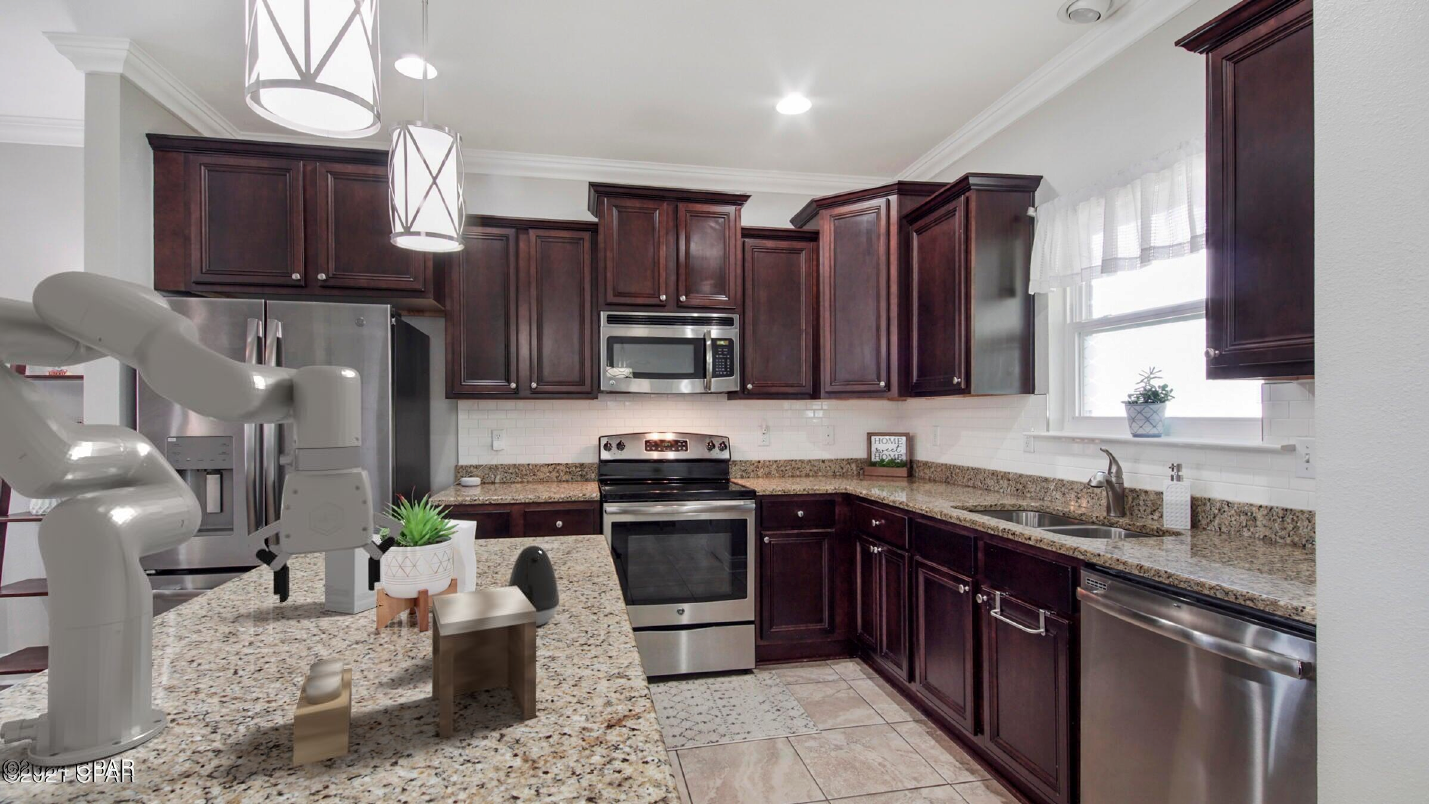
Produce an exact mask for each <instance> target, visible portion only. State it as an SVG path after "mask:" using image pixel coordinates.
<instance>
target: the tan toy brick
mask: <svg viewBox="0 0 1429 804" xmlns="http://www.w3.org/2000/svg"><path fill="white" fill-rule="evenodd" d="M344 662H345V659H343V658H338V657H334V658H333V657H331V658H326V659H321V660H317V661H316V662H315V661H314V662H313V663H311V664H310V666H309V674H308V675H305V677H304V678H303V683H302V686H301V690H300V694H299V696H298V700H297V704H296V707H295V711H294V714H293V756H292V758H293V763H292V766H293V767H296V766H301V765H305V764H311V763H315V762H319V761H322V760H328V759H331V758H332V759H333V758H336V757H338V758H339V757H341V756H346V755H348V753H349V752H348V751H349V742H350V740H349V739H350V732H351V723H352V722H351V718H352V708H353V707H352V699H353V680H352V679H353V668H352V667H349V668H344Z"/></svg>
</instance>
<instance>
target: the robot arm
mask: <svg viewBox="0 0 1429 804" xmlns="http://www.w3.org/2000/svg"><path fill="white" fill-rule="evenodd" d="M31 298H32V299H31V300H32V302H31V301H24V300H19V299H12V298H8V297H2V296H0V477H1V479H3V480H4V482H5V483H6V484H7V485H8V486H9V488H11V489H12V490H13V491H15V492H16V493H17V494H18V495H20V496H22V497H24V498H28V499H32V500H54V499H56V500H57V499H64V498H66V499H64V500H62V501H61V502H58V503H57V504H56V505H54V506H53V507H52V508H51V509H50V510H49V511H47V512H46V514H45V515H44V517H43V518H42V520H41V522H40V524H39V527H38V531H37V542H38V544H37V545H38V548H39V553H40V556H41V561H42V562H43V567H44V570H45V571H44V572H45V576H46V581H47V582H46V583H47V593H48V595H47V596H48V597H47V598H48V659H47V661H48V663H47V669H48V671H47V673H48V674H47V679H48V680H47V712H45V713H44V712H43V713H41V714H39V715H38V717H33V718H27V719H26V718H23V719H22V718H20V719H15V720H9V721H4V722H3V723H2V725H1V726H0V739H1V740H3V743H4V744H6V745H7V744H12V743H18V742H21V741H26V740H31V741H33V743H31V745H30V746H29V747H28V750H27V760H28V762H29V763H31V764H32V765H35V766H40V767H62V766H63V767H64V766H70V765H76V764H81V763H87V762H91V761H95V760H99V759H102V758H105V757H111V756H113V755H116V754H119V753H121V752H125V751H126V750H131V749H132V748H135V747H136V746H139V745H141V744H143V743H146V742H148V741H149V740H151V739H153V738H154V737H156V735H158V734H159V733H160V732H162V731H163V729H164V728H165V727H166V726H167V723H168V721H167V720H168V719H167V717H168V716H167V713H166V712H165V711H163V710H160V709H155V708H152V707H153V706H152V702H153V701H152V696H153V695H152V694H153V693H152V692H153V637H154V636H153V633H154V632H153V627H154V626H153V623H154V621H153V619H154V607H153V606H154V605H153V603H154V600H153V599H154V596H153V589H152V585H151V582H150V579H149V577H148V575H147V574H146V572H145V570H144V569H143V567H142V565H141V562H140V560H139V559H140V558H141V557H142V558H143V557H146V556H149V555H152V554H154V555H155V554H158V553H160V552H161V553H162V552H166V551H168V550H171V549H174V548H177V547H180V546H181V545H183V544H186V543H187V542H189V540H191V539H192V538H193V537H194V536H195V535H196V534H197V532H199V529H200V526H201V525H202V519H203V517H202V513H203V512H202V509H201V505H200V502H199V500H198V498H197V496H196V494H195V493H194V492H193V490H192V489H191V487H190V486H189V485H188V484H187V483H186V482H185V480H184V479H183V478H182V477H181V475H180V474H179V473H178V471H176V470H175V469H174V467H173V465H171V464H170V462H169V461H168V460H167V459H166V458H165V456H164V455H163V454H162V453H161V452H160V451H159V448H157V447H156V446H155V445H154V444H153V442H152V441H150V439H148V438H147V437H145V435H143V434H142V433H140V432H138V431H136V430H135V429H132V428H129V427H127V426H123V425H118V424H107V423H106V424H105V423H103V424H102V423H100V424H98V423H97V424H95V423H94V424H91V423H89V424H84V423H80V422H76V421H74V420H72V419H71V418H69V417H68V415H66V413H64V412H63V411H62V410H61V409H60V407H58V406H57V404H56V403H55V401H54V400H53V399H52V397H51V396H50V395H49V394H48V393H47V392H46V391H45V390H43V388H41V387H40V386H39V385H38V384H36V383H34V382H33V381H31V380H30V379H28V378H27V377H26V376H23V375H21V374H20V373H18V372H16V371H15V370H14V369H12V368H11V367H9V366H8V365H17V366H31V367H43V368H45V367H46V368H65V367H70V366H71V367H72V366H77V365H82V364H85V363H89V362H92V361H96V360H97V361H98V360H100V359H103V358H108V357H111V358H113V359H115V360H117V361H118V362H121V363H123V364H125V365H127V366H129V367H131V368H133V369H135V370H136V371H138V372H139V374H140V376H141V378H142V379H143V381H144V382H145V383H146V384H147V385H148V386H149V388H150V389H152V391H154V392H155V393H156V394H158V396H160V397H162V398H164V399H167V400H168V401H170V402H171V403H174V404H176V405H178V406H180V407H183V408H185V409H187V410H189V411H191V412H193V413H195V414H197V415H199V416H202V417H204V418H206V419H209V420H212V421H215V422H218V423H223V424H230V425H248V424H249V425H250V424H251V425H253V424H254V425H255V424H256V425H257V424H262V425H263V424H265V425H269V424H271V425H272V424H289V423H293V426H292V427H293V428H292V429H293V430H292V431H293V433H292V434H293V437H292V438H293V440H292V441H293V444H292V445H293V448H292V451H290V452H287V453H283V454H279V465H280V466H285V465H286V466H290V468H292V470H293V473H288V474H286V476H285V479H284V483H283V489H282V494H281V504H280V505H281V507H280V519H278V520H276V521H274V522H272V523H270V524H268V525H266V526H264V527H262V528H260V529H259V530H257V531H254V532H253V533H250V534H249V535H248V536H247V537H246V538H245V543H247V545H248V547H249V548H250V550H251V552H253V553H254V555H255V558H256V559H257V560H259V561H260V562H261V563H263V564H264V565H266V566H267V567H269V569H270V570H271V571H272V572H273V583H272V585H273V596H278V595H279V597H278V598H279V600H278V601H279V603H280V604H281V603H285V602H288V599H289V598H290V566H288V563H287V562H288V561H289V560H290V559H291V557H292V556H293V555H294V556H296V555H306V554H307V555H310V554H319V553H325V552H330V551H340V550H349V549H357V548H361V547H362V548H363V549H364V550H365V551H366V552H367V553H368V554H369V555H370V558H368V590H370V591H374V590H375V583H376V582H380V559H381V558H382V556H383V555H384V554H385V553H386V552H387V551H388V550H389V551H390V549H391V548H392V547H393V546H394V545H395V543H396V542H397V539H398V537H399V536H400V534H401V532H402V530H403V528H404V523H403V521H400V520H398V519H395V518H392V517H390V516H387V515H384V514H382V513H379V512H377V511H374V507H373V504H374V503H373V494H372V486H371V485H372V484H371V479H370V475H369V472H368V471H369V470H367V469H363V468H362V467H363V466H362V384H361V382H362V381H361V376H360V373H359V372H358V371H357V370H356V369H355V368H353V367H349V366H340V365H339V366H338V365H309V366H308V365H307V366H303V367H300V368H290V367H281V366H274V365H267V364H262V363H261V364H259V363H252V362H251V363H250V362H242V361H237V360H234V359H232V358H229V357H227V356H225V355H223V354H220V353H218V352H216V351H214V350H212V349H211V348H208V347H206V346H205V345H202V344H200V343H199V342H198V339H199V331H198V329H197V327H196V325H195V323H194V322H193V321H192V320H191V319H189V318H188V317H186V316H185V315H183V314H181V313H179V312H176V311H174V310H172V308H171V306H170V304H169V303H168V301H167V300H166V299H165V298H164V297H163V296H162V295H161V294H160V293H159V292H157V291H156V290H154V289H152V288H151V287H148V286H145V285H143V284H140V283H136V282H132V281H127V280H123V279H119V278H115V277H111V276H106V275H103V274H102V275H101V274H98V273H93V272H88V271H73V270H72V271H71V270H70V271H64V272H63V271H62V272H57V273H54V274H52V275H49V276H47V277H46V278H44V279H43V280H41V281H40V282H39V283H38V284H37V285H36V287H35V288H34V290H33V293H32V297H31ZM375 524H376V525H379V526H382V527H383V528H384V527H385V528H387V529H388V530H389V531H388V533H387V534H386V535H387V537H386V538H385V539H384V540H383V541H382V542H381V543H380V544H379V545H378V544H377V543H376V542H374V541H373V540H372V539H373V534H374V531H375V530H374V528H375V526H374V525H375ZM278 532H279V546H280V550H281V552H279V554H278V555H277V553H275V552H273V551H272V550H271V549H270V548H268V547H267V546H266V544H265V542H264V541H265V539H267V538H269V537H271V536H273V535H276V534H277V533H278Z"/></svg>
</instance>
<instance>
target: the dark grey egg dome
mask: <svg viewBox="0 0 1429 804" xmlns="http://www.w3.org/2000/svg"><path fill="white" fill-rule="evenodd" d="M511 586H517V587H518V588H519V589H520V591H521V592H522V593H523V594H524V596H525V597H526V598H527V599H528V600H529V602H530V603H531V604H532V605H533V607H534V608H535V609H536V627H539V626H543V625H545V624H546V623H548V622H550V620H551V619H552V618H553V617H554V616H555V614H556V612H557V609H558V605H559V604H560V594H559V587H558V581H557V578H556V574H555V570H554V567H553V564H552V561H551V559H550V556H549V554H548V553H547V552H546V550H545V549H544V548H542V547H541V546H538V545H529V546H527V547H526V546H525V548H524V549H522V550H521V551H520V552H519V554H518V555H517V557H516V559H515V561H514V564H513V567H512V569H511V573H510V577H509V581H508V584H507V587H511Z"/></svg>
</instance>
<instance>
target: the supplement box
mask: <svg viewBox="0 0 1429 804" xmlns="http://www.w3.org/2000/svg"><path fill="white" fill-rule="evenodd" d="M380 535H381V534H375V533H373V539H372V540H373V541H374V542H376V543H377V544H378V545H379V544H380V543H381V542H382V541H381V539H380ZM368 558H370V555H369V554H368V553H367V552H366V551H365V550H364V549H363V548H362V547H361V548H357V549H349V550H340V551H330V552H324V611H328V610H329V611H330V612H335V611H336V613H343V614H349V615H350V614H351V615H355V614H358V613H361V612H364V611H367V610H370V609H373V608H376V598H377V589H378V588H379V586H380V585H382V563H381V559H380V582H376V583H375V590H374V591H370V590H368Z"/></svg>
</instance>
